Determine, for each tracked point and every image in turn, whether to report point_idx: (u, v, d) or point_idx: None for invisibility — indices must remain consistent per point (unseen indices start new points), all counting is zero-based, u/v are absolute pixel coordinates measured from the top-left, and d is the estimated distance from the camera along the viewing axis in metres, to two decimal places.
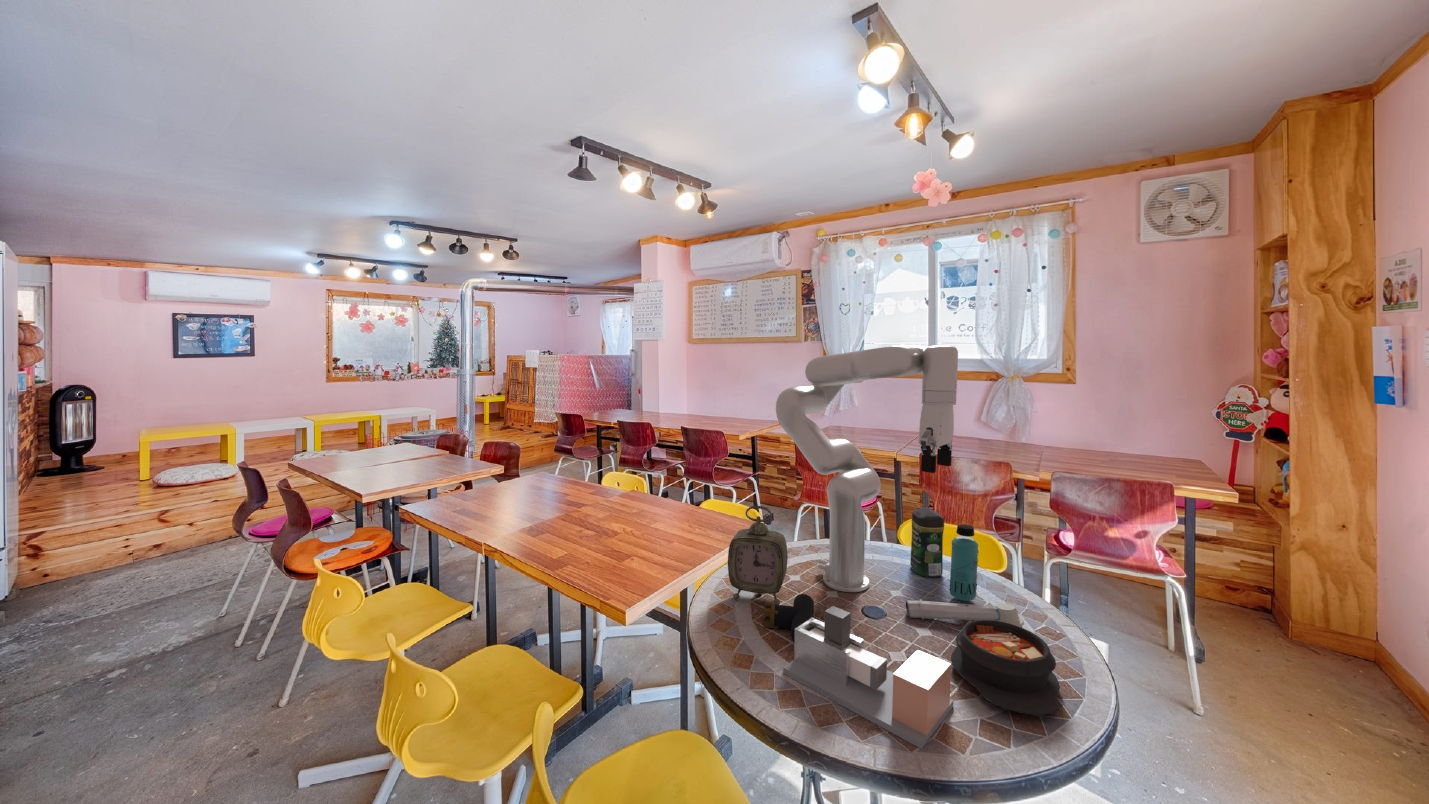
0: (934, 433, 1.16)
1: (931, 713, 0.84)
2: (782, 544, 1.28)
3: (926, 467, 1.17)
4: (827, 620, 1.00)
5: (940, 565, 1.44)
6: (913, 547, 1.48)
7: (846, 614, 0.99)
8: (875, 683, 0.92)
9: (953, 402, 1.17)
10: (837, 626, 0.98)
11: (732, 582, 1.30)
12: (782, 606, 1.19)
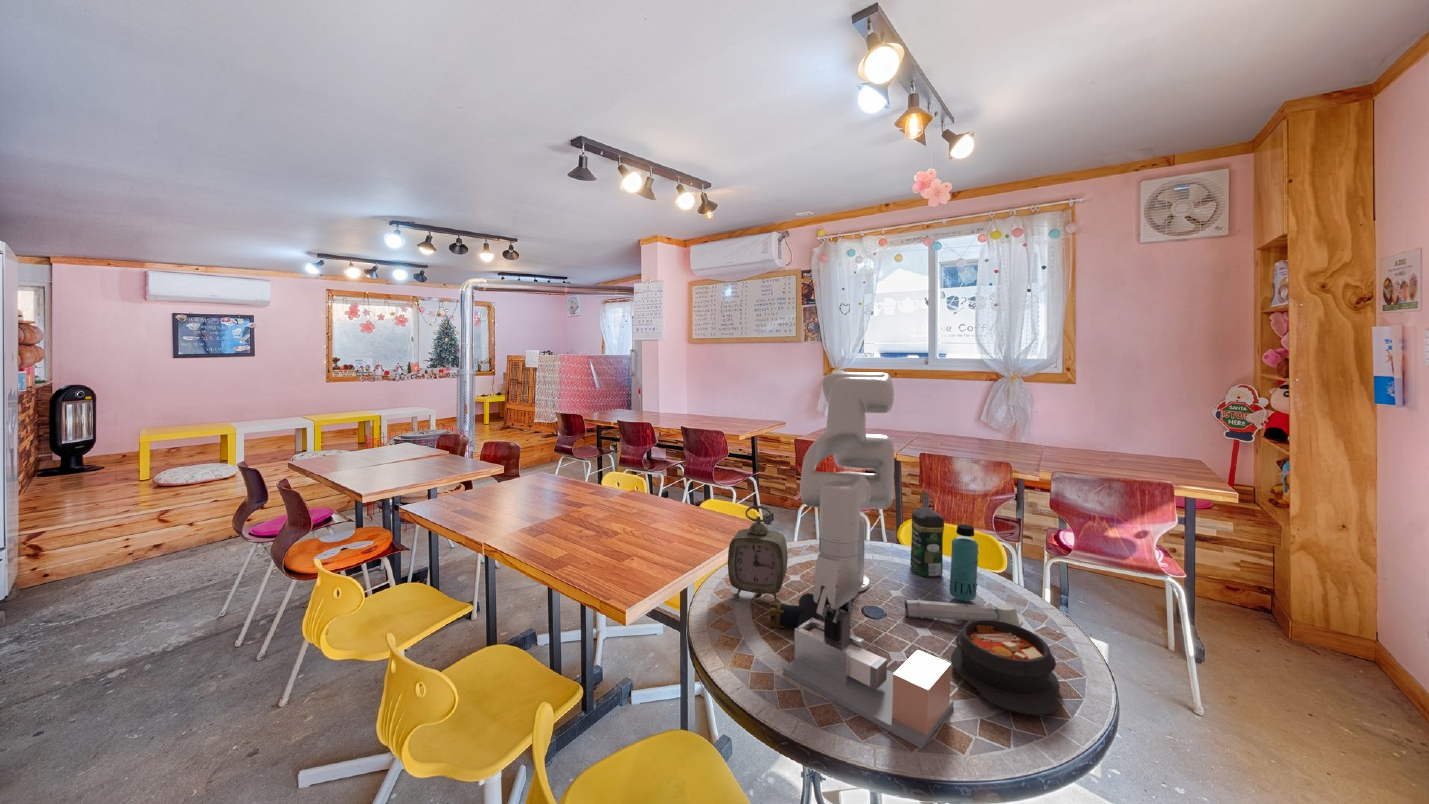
0: (829, 594, 0.95)
1: (931, 713, 0.84)
2: (782, 544, 1.28)
3: (828, 634, 0.98)
4: None
5: (940, 565, 1.44)
6: (913, 547, 1.48)
7: (846, 614, 0.99)
8: (875, 683, 0.92)
9: (853, 556, 0.95)
10: None
11: (732, 582, 1.30)
12: (788, 605, 1.19)
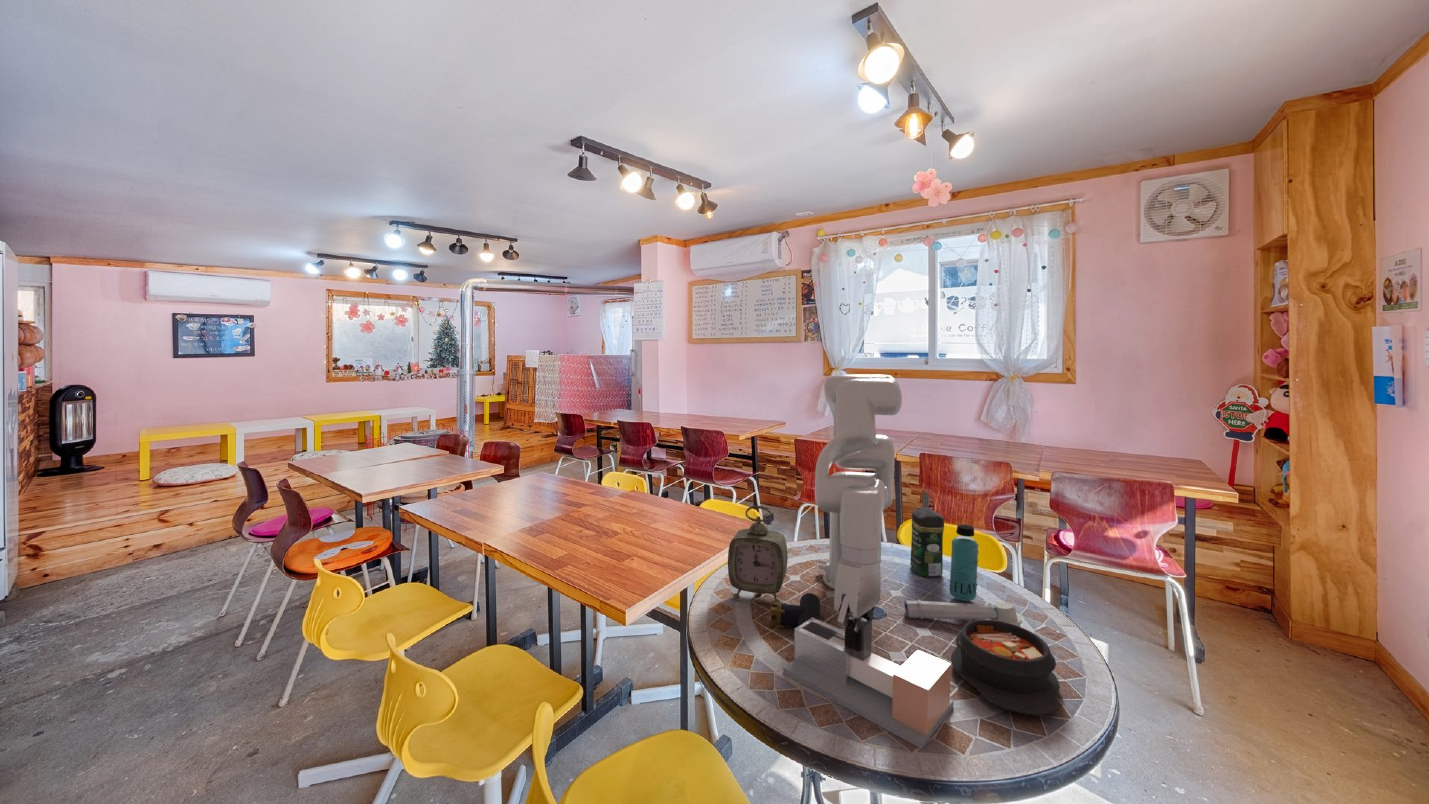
0: (850, 603, 0.92)
1: (931, 713, 0.84)
2: (782, 544, 1.28)
3: (849, 644, 0.95)
4: None
5: (940, 565, 1.44)
6: (913, 547, 1.48)
7: (868, 622, 0.96)
8: None
9: (875, 562, 0.92)
10: None
11: (732, 582, 1.30)
12: (789, 605, 1.20)
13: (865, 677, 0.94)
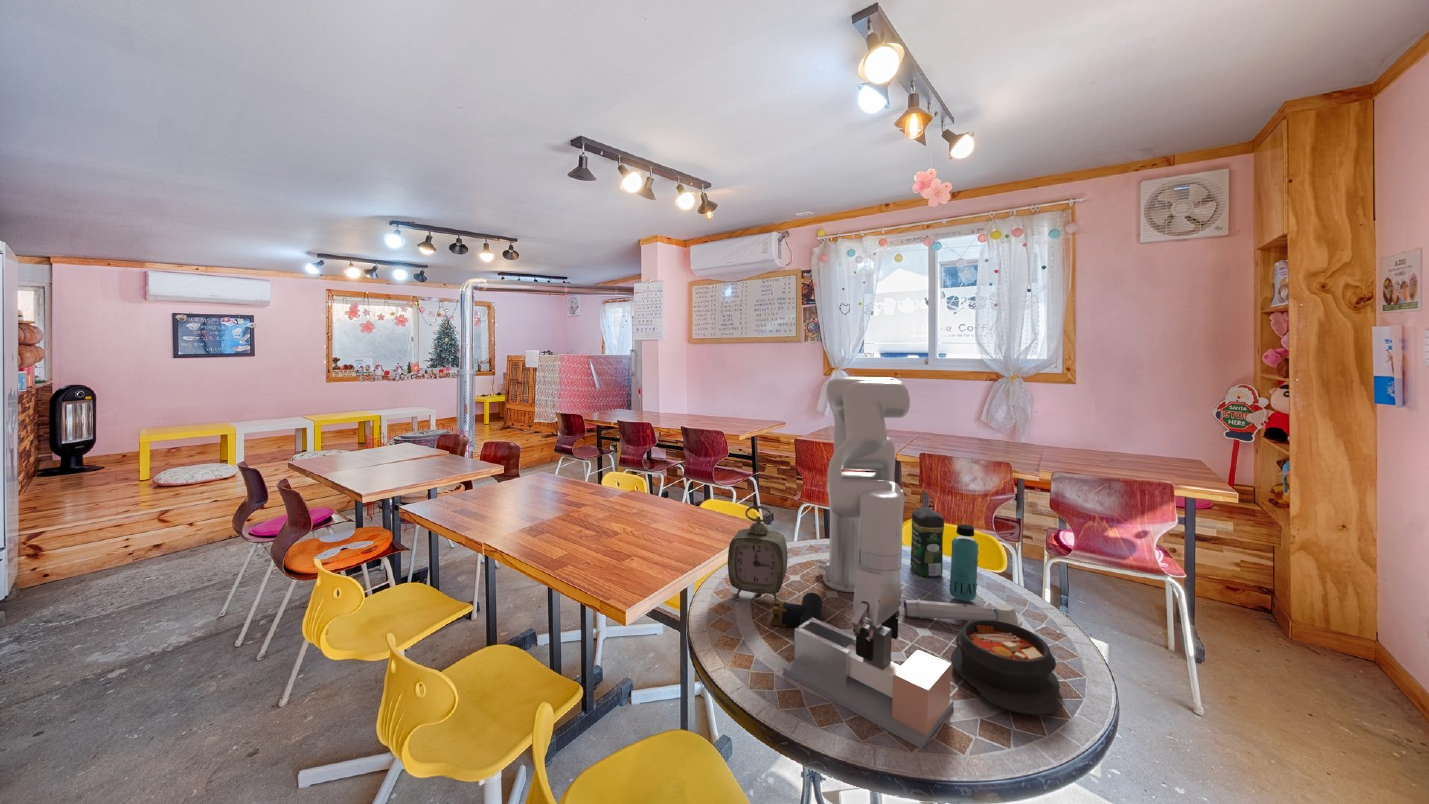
0: (871, 610, 0.89)
1: (931, 713, 0.84)
2: (782, 544, 1.28)
3: (861, 653, 0.90)
4: None
5: (940, 565, 1.44)
6: (913, 547, 1.48)
7: (887, 630, 0.93)
8: None
9: (896, 569, 0.89)
10: (877, 644, 0.92)
11: (732, 582, 1.30)
12: (791, 604, 1.20)
13: (885, 687, 0.91)
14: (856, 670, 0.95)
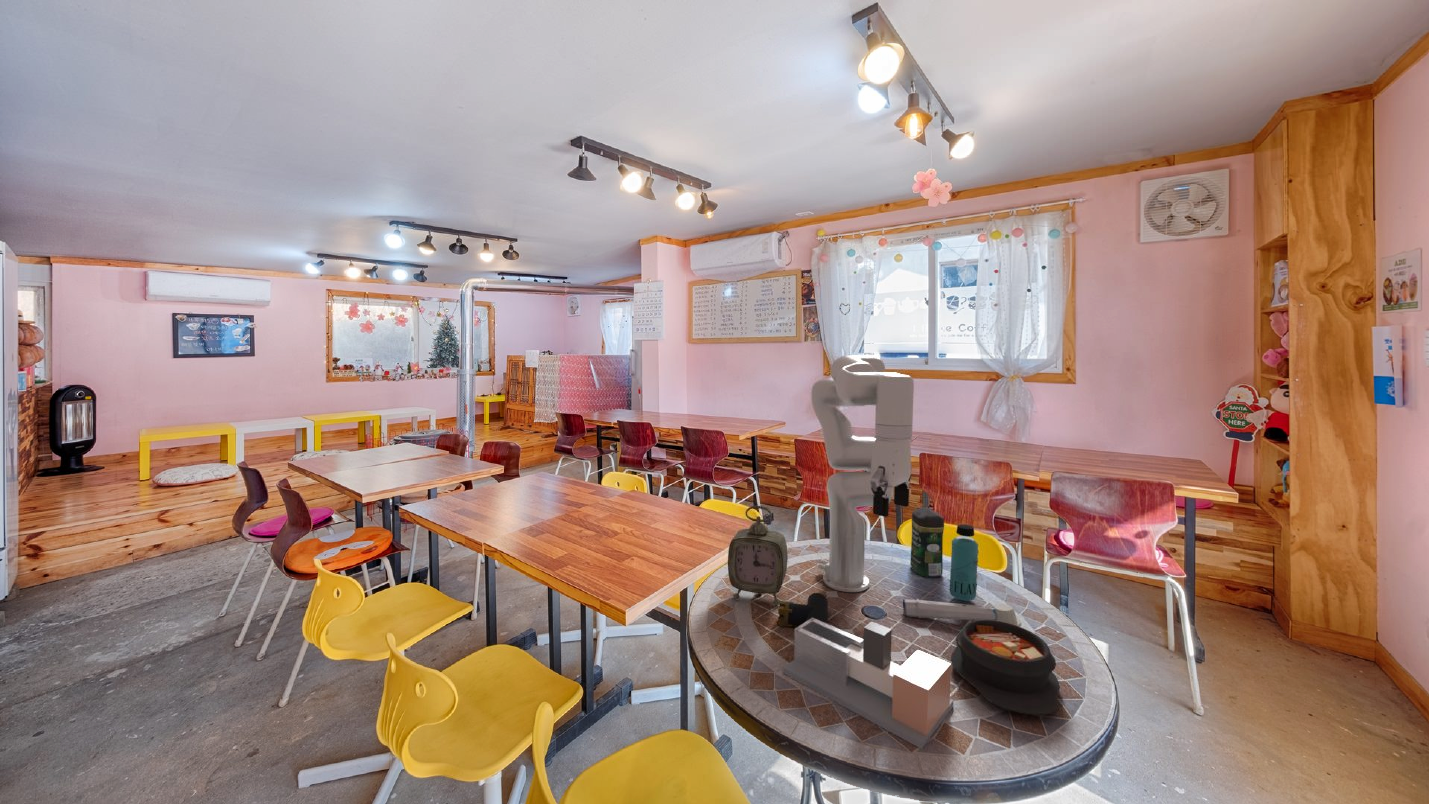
0: (886, 473, 1.04)
1: (931, 713, 0.84)
2: (782, 544, 1.28)
3: (878, 510, 1.05)
4: (866, 637, 0.94)
5: (940, 565, 1.44)
6: (913, 547, 1.48)
7: (887, 630, 0.93)
8: None
9: (908, 438, 1.05)
10: (877, 644, 0.92)
11: (732, 582, 1.30)
12: (796, 604, 1.20)
13: (885, 687, 0.91)
14: (856, 670, 0.95)
